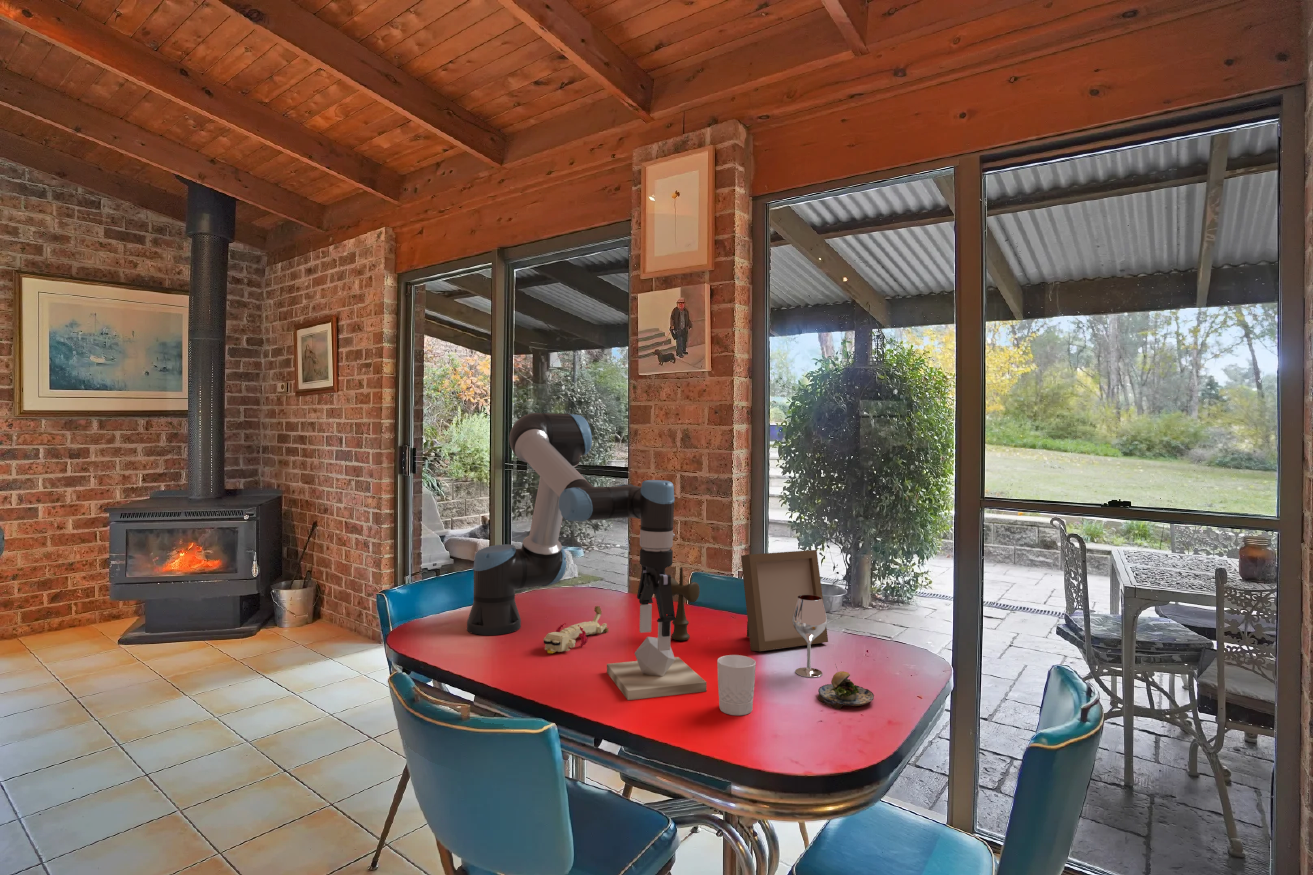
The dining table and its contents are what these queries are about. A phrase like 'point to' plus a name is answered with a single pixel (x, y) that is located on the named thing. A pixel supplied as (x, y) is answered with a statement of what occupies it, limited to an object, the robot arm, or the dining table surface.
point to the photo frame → (778, 596)
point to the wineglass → (809, 626)
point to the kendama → (682, 605)
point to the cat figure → (573, 634)
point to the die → (653, 658)
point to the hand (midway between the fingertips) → (654, 640)
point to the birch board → (655, 680)
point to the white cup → (736, 684)
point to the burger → (843, 692)
